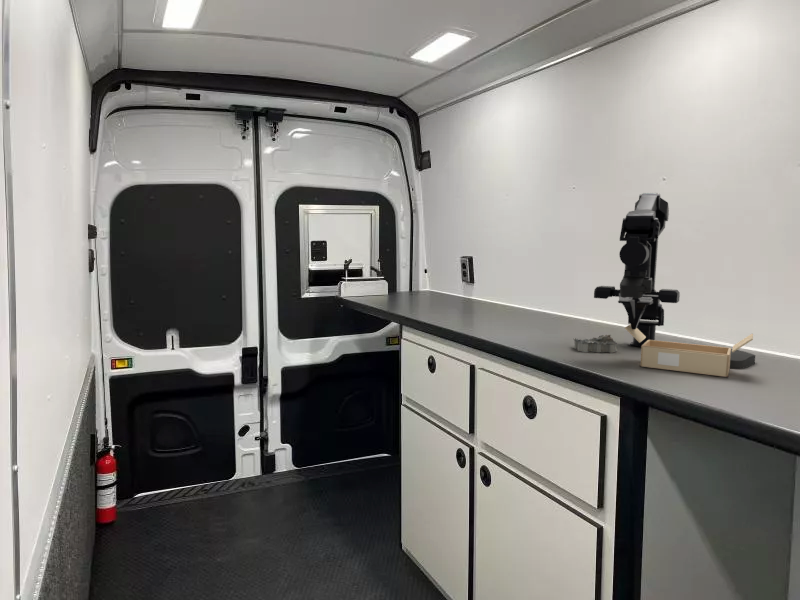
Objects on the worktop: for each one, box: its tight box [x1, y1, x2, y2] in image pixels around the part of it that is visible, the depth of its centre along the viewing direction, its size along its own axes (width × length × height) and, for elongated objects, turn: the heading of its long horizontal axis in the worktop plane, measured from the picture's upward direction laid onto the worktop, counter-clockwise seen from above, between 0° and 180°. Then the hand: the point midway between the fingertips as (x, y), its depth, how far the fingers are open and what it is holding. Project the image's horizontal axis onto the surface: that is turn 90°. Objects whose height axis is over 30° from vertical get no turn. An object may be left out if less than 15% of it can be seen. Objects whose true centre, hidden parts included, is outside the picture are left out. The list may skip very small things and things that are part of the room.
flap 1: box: [624, 324, 646, 343], centre depth 140 cm, size 8×1×5 cm
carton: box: [639, 339, 732, 378], centre depth 134 cm, size 11×18×5 cm, turn 58°
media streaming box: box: [730, 348, 756, 370], centre depth 143 cm, size 15×15×3 cm
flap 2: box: [731, 333, 754, 352], centre depth 128 cm, size 8×1×5 cm
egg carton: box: [573, 334, 619, 354], centre depth 155 cm, size 11×8×4 cm
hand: (634, 329), depth 140 cm, fingers closed
